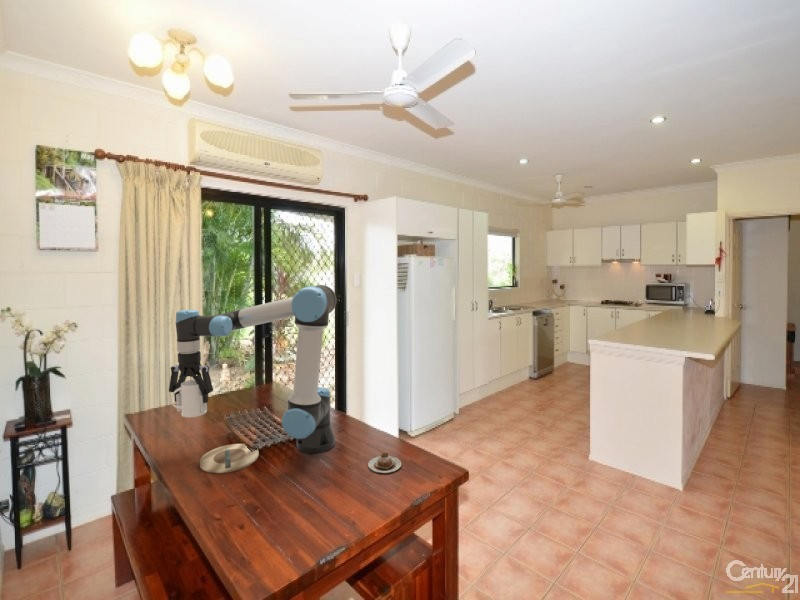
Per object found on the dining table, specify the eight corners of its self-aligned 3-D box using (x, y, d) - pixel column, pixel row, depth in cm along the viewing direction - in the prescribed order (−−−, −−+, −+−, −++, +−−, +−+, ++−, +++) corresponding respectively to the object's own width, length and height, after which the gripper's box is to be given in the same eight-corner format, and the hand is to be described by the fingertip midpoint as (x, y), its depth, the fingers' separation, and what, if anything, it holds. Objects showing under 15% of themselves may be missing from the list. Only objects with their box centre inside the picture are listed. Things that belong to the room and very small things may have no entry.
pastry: (407, 464, 143) (407, 452, 143) (388, 479, 133) (388, 466, 133) (381, 455, 150) (381, 444, 150) (361, 469, 140) (361, 456, 140)
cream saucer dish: (267, 448, 155) (267, 430, 154) (242, 474, 135) (241, 454, 134) (219, 445, 157) (218, 428, 156) (187, 471, 137) (186, 451, 136)
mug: (172, 421, 141) (170, 388, 140) (170, 413, 148) (169, 382, 147) (208, 414, 148) (207, 383, 146) (205, 407, 155) (204, 377, 154)
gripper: (222, 349, 148) (224, 407, 150) (168, 348, 151) (172, 406, 153) (210, 354, 141) (213, 415, 143) (154, 353, 143) (158, 413, 145)
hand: (192, 410), depth 148 cm, fingers closed on mug, 9 cm apart
